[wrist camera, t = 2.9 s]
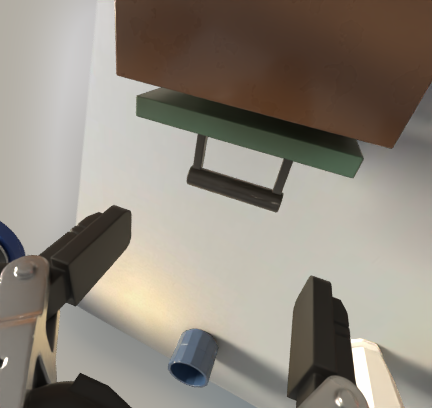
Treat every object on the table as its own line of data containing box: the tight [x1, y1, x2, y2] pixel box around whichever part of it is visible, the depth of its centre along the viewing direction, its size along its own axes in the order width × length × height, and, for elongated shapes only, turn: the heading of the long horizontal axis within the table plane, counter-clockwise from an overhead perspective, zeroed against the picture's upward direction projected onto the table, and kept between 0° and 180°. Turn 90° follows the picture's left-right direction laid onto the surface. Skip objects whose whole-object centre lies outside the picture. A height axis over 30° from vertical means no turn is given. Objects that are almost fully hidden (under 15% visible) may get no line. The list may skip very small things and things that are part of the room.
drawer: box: [136, 87, 364, 212], centre depth 16 cm, size 20×13×8 cm, turn 169°
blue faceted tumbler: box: [168, 329, 218, 387], centre depth 41 cm, size 6×6×6 cm
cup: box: [351, 339, 405, 408], centre depth 31 cm, size 7×10×8 cm
